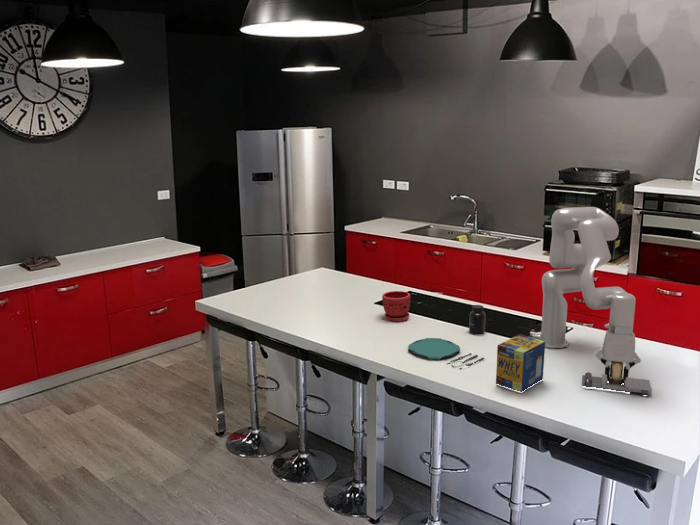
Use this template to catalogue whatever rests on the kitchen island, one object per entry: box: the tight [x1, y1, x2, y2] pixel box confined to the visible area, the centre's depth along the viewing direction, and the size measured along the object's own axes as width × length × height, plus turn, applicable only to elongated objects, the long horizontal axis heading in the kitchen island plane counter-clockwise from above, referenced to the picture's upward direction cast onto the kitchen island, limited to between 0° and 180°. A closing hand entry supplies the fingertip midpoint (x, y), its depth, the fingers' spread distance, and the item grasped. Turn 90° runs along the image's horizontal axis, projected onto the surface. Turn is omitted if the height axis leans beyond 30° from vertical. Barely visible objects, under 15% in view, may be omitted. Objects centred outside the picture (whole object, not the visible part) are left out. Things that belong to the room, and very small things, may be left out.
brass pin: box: [609, 361, 624, 385], centre depth 219 cm, size 4×4×10 cm
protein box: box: [495, 333, 546, 392], centre depth 223 cm, size 10×15×16 cm
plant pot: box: [381, 290, 411, 322], centre depth 293 cm, size 13×13×12 cm
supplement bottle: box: [468, 304, 487, 335], centre depth 274 cm, size 7×7×12 cm
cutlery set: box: [407, 337, 485, 366], centre depth 251 cm, size 20×30×2 cm, turn 39°
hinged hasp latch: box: [581, 371, 652, 396], centre depth 219 cm, size 22×10×2 cm, turn 69°
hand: (616, 377), depth 219 cm, fingers open, 4 cm apart
